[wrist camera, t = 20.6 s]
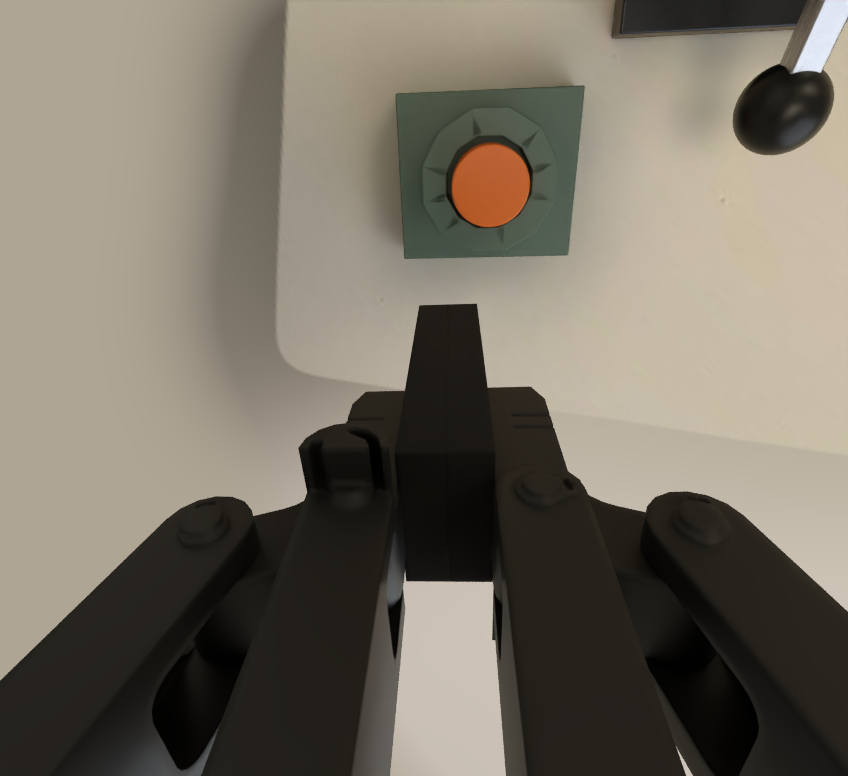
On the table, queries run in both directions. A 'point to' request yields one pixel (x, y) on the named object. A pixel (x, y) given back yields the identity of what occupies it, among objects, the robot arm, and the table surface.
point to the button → (490, 184)
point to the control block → (475, 124)
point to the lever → (793, 86)
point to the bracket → (703, 16)
